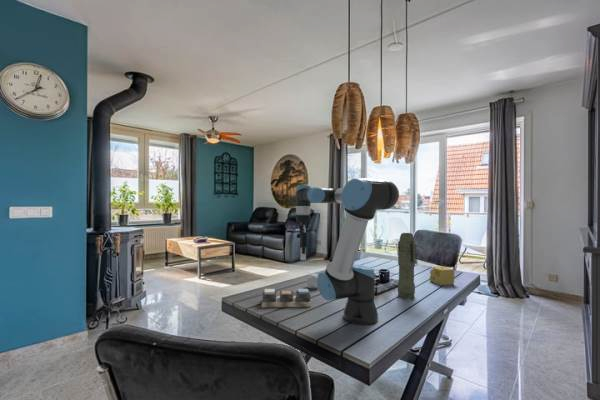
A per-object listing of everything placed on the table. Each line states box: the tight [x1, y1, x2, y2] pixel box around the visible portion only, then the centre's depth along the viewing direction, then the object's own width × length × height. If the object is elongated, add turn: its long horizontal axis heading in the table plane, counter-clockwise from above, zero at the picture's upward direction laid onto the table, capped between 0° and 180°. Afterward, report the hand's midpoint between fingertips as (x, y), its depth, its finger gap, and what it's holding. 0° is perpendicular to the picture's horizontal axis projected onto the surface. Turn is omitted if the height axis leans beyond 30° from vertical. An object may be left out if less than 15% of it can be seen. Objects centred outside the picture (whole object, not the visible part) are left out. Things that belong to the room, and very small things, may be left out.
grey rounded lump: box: [305, 273, 319, 289], centre depth 172 cm, size 8×9×10 cm
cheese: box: [429, 265, 455, 286], centre depth 186 cm, size 10×11×10 cm
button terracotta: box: [281, 290, 292, 294], centre depth 145 cm, size 5×5×3 cm
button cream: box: [263, 288, 276, 294], centre depth 145 cm, size 5×5×3 cm
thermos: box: [397, 232, 417, 300], centre depth 158 cm, size 9×12×35 cm
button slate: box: [297, 288, 310, 294], centre depth 146 cm, size 5×5×3 cm
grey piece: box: [261, 289, 312, 308], centre depth 145 cm, size 24×10×6 cm, turn 94°
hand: (303, 259), depth 149 cm, fingers closed
